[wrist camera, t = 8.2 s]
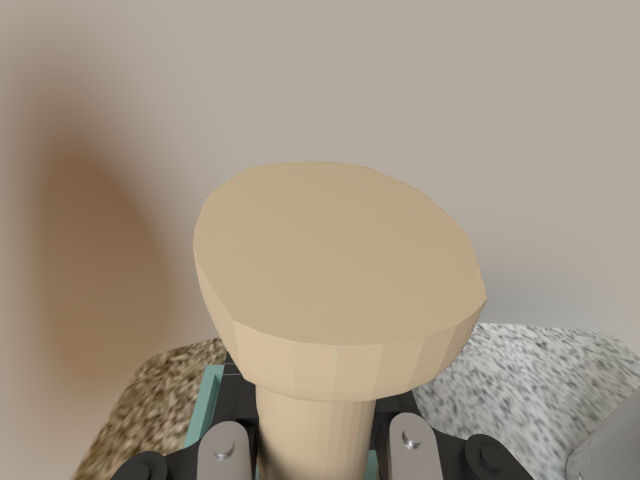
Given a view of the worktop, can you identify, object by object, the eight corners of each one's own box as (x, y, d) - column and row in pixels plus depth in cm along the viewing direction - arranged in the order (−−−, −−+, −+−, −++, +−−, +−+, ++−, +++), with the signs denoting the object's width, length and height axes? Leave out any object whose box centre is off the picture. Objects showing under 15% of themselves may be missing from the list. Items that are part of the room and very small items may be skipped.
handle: (252, 636, 11) (144, 369, 3) (254, 441, 16) (218, 161, 8) (381, 603, 12) (572, 323, 4) (343, 427, 17) (387, 161, 9)
